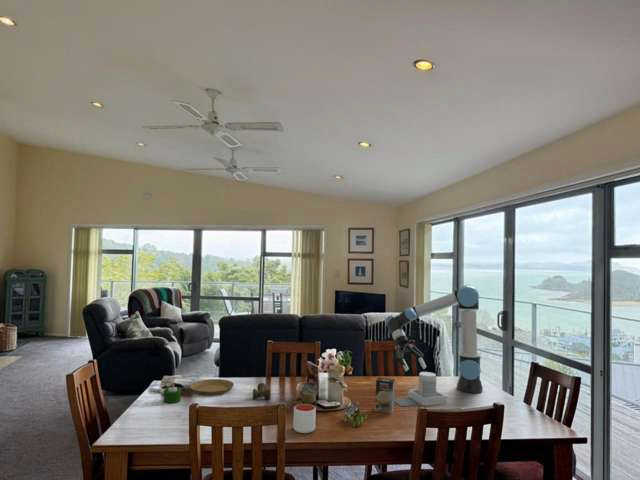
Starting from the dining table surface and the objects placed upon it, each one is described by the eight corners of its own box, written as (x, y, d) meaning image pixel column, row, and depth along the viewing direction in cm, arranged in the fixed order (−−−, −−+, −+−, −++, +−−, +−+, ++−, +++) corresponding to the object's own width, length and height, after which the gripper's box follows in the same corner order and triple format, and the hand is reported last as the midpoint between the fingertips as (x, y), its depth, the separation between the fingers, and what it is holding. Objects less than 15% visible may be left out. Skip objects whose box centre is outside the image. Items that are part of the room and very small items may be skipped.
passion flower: (345, 433, 208) (340, 407, 215) (367, 428, 209) (362, 403, 216) (347, 427, 199) (341, 401, 206) (370, 423, 200) (363, 397, 207)
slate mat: (409, 397, 247) (409, 397, 247) (420, 404, 236) (420, 404, 236) (390, 399, 243) (390, 398, 243) (401, 406, 232) (401, 406, 232)
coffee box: (374, 411, 223) (375, 379, 224) (376, 407, 229) (377, 376, 230) (392, 414, 220) (393, 382, 221) (394, 409, 226) (395, 379, 227)
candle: (182, 402, 226) (182, 383, 226) (165, 404, 222) (166, 385, 222) (178, 397, 233) (179, 379, 234) (162, 399, 229) (163, 380, 229)
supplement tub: (439, 401, 243) (440, 375, 243) (427, 404, 238) (428, 377, 238) (426, 396, 251) (427, 370, 251) (414, 398, 246) (415, 372, 246)
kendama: (270, 392, 250) (270, 402, 231) (253, 392, 249) (252, 403, 229) (270, 381, 251) (270, 391, 231) (253, 382, 249) (252, 391, 230)
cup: (292, 425, 201) (293, 403, 201) (314, 425, 202) (315, 403, 202) (293, 434, 191) (294, 411, 192) (315, 434, 192) (316, 411, 192)
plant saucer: (181, 391, 245) (181, 385, 245) (213, 381, 265) (213, 376, 265) (210, 400, 231) (211, 394, 232) (242, 389, 251) (242, 384, 252)
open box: (430, 394, 254) (430, 388, 254) (446, 403, 240) (446, 396, 240) (408, 396, 249) (408, 389, 249) (423, 405, 235) (423, 398, 235)
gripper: (412, 340, 274) (428, 370, 261) (381, 343, 262) (396, 374, 248) (418, 333, 270) (435, 363, 256) (387, 335, 257) (402, 367, 244)
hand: (416, 369), depth 252 cm, fingers open, 13 cm apart
